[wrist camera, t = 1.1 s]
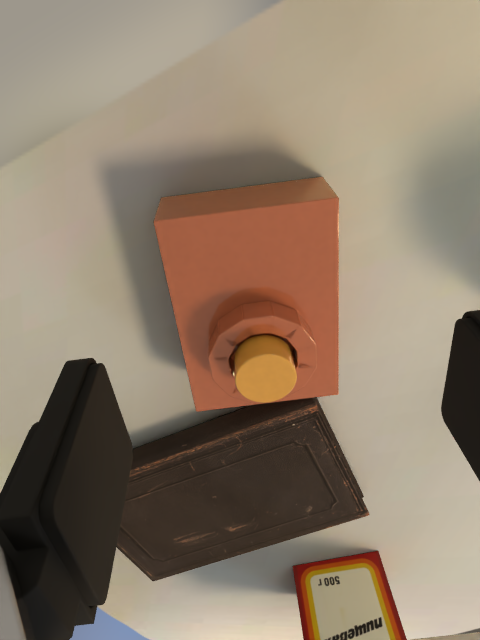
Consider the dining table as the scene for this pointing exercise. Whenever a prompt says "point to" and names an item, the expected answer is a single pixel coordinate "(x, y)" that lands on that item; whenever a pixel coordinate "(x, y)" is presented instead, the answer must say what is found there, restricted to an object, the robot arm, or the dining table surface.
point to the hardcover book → (235, 487)
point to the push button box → (253, 282)
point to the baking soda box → (347, 600)
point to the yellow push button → (264, 368)
